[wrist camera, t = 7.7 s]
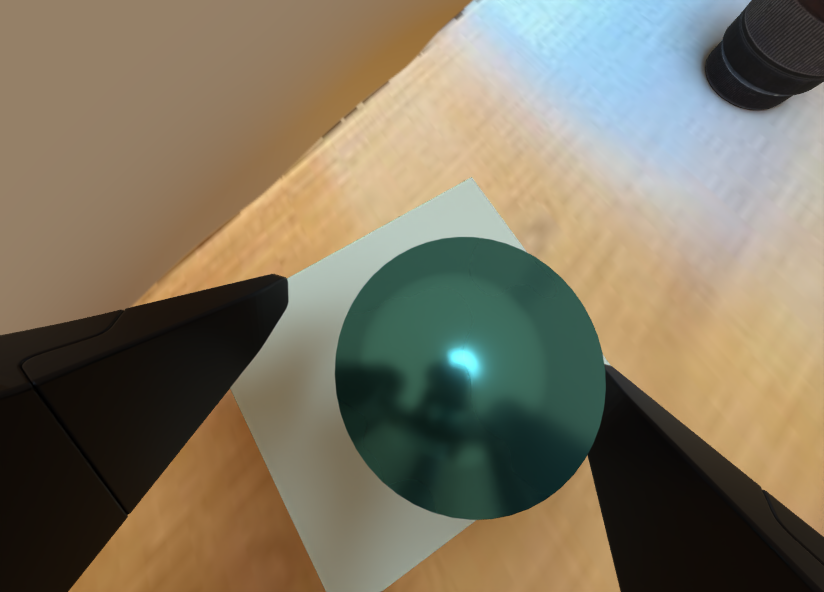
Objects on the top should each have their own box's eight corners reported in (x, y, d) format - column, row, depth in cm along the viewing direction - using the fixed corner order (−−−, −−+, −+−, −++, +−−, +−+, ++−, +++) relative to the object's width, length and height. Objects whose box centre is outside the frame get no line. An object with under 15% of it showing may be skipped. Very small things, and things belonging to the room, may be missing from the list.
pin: (424, 414, 16) (528, 588, 4) (365, 373, 17) (275, 406, 4) (461, 353, 17) (645, 325, 5) (404, 315, 18) (431, 192, 5)
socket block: (356, 557, 16) (340, 622, 12) (244, 333, 18) (200, 326, 14) (585, 391, 18) (635, 399, 14) (458, 212, 20) (471, 177, 16)
